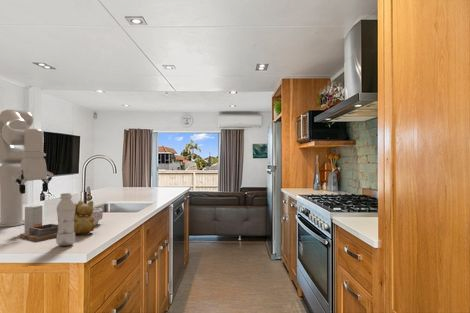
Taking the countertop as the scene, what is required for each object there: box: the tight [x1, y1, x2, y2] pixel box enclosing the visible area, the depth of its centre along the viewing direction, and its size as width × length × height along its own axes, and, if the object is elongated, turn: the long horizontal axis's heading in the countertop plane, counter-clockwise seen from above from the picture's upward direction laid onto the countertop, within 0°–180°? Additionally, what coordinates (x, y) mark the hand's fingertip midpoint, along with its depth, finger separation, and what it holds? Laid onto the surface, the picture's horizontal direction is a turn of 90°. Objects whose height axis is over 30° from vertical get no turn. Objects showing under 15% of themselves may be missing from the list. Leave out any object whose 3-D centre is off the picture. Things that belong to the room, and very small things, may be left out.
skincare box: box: [24, 204, 44, 233], centre depth 147 cm, size 6×4×12 cm
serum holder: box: [19, 223, 58, 242], centre depth 139 cm, size 14×15×4 cm
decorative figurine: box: [74, 200, 96, 236], centre depth 141 cm, size 10×8×15 cm
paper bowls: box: [74, 207, 104, 226], centre depth 162 cm, size 15×15×8 cm
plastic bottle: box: [55, 192, 76, 247], centre depth 123 cm, size 6×7×20 cm
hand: (34, 192), depth 146 cm, fingers open, 9 cm apart
